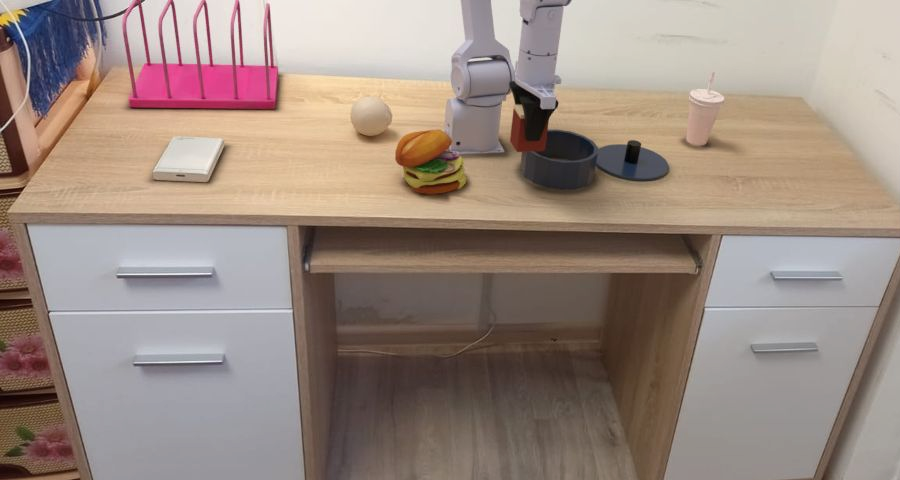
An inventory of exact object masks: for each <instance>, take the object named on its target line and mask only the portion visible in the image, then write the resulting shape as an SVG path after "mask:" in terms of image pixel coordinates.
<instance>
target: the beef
mask: <svg viewBox="0 0 900 480" xmlns="http://www.w3.org/2000/svg"><path fill="white" fill-rule="evenodd" d="M512 110H513V111H512V119H511V120H512V121H511V130H510V137H509V138H510V139H509V142H510V144H511V145H512V147H513V148H514V150H515V151H516V153H522V152H530V151H545V146H546V138H547V131H548V130H549V124H550V123H549V121H550V119H549V120H548V121H547V124H546V126H545V128H544V131H543V134H542V136H541V138H540V140H539V141H527V140H526V136H525V117H524V110H523V106H522V104H520V105H515V104H513V108H512Z"/></svg>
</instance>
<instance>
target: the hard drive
mask: <svg viewBox="0 0 900 480" xmlns="http://www.w3.org/2000/svg"><path fill="white" fill-rule="evenodd" d="M224 148H225V140H224V139H223V138H220V137H202V136H180V135H179V136H178V135H176V136H175V135H174V136H173V137H172V138H171V140H170V142H169V144H168V146H167V147H166V148H165V150H164V152H163V153H162V155H161V156H160V159H159V160H158V162H157V163H156V165H155V167H154V169H153V171H152V178H153V180H156V181H171V182H172V181H173V182H194V183H207V182H209V180H210V178H211V176H212V174H213V172H214V170H215V167H216V165H217V163H218V161H219V158H220V156H221V154H222V153H223V149H224Z"/></svg>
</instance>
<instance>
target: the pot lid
mask: <svg viewBox="0 0 900 480" xmlns="http://www.w3.org/2000/svg"><path fill="white" fill-rule="evenodd" d="M595 167H597V168H598V169H599V170H600V171H602V172H604V173H605V174H608V175H610V176H613V177H616V178H618V179H622V180H628V181H633V182H634V181H635V182H650V181H655V180H659V179H661V178H663V177H665V176H666V175H667V174H668V171H669V163H668V161H667V160H666V158H665V157H663V156H662V155H661V154H659V153H657V152H656V151H653V150H651V149H648V148H647V147H642V143H641V142H640V141H638V140H635V139H631V140H627V144H623V143H621V144H619V143H617V144H614V143H613V144H607V145H604V146H600V147H598V155H597V161H596V166H595Z"/></svg>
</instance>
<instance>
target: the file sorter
mask: <svg viewBox="0 0 900 480" xmlns="http://www.w3.org/2000/svg"><path fill="white" fill-rule="evenodd" d="M136 5H137V6H138V11H139V16H140V17H139V18H140V24H141V31H142V38H143V44H144V51H145V57H146V62H145V63H143V65H142V67H141V69H140V72H139V74H138V77H137V78H136V79H135V73H134V68H133V62H132V55H131V50H130V43H129V37H128V31H127V21H128V17H129V16H130V14H131V12H132V11H133V10H134V7H135V6H136ZM270 5H271V4H270V3H268V2H267V3H265V10H264V17H263V26H262V27H263V28H262V29H263V49H264V50H263V52H264V53H263V54H264V65H259V64H257V65H255V64H254V65H253V64H245V63H244V49H243V48H244V47H243V32H242V29H243V28H242V17H241V16H242V15H241V13H242V12H241V4H240V0H235V2H234V5H233V10H232V13H231V18H230V46H231V47H230V48H231V60H232V64H216V63H214V59H213V49H212V39H211V28H210V17H209V11H208V10H209V9H208V3H207V1H206V0H200V2H199V5H198V6H197V8H196V11H195V13H194V14H193V18H192V19H193V20H192V30H193V31H192V32H193V41H194V50H195V57H196V58H195V59H196V63H183V61H182V53H181V45H180V36H179V28H178V21H177V12H176V6H175V1H174V0H167V1H166V3H165V5H164V7H163V9H162V11H161V12H160V15H159V17H158V24H157V25H158V26H157V27H158V38H159V39H158V40H159V47H160V53H161V59H162V63H161V62H159V63H157V62H151V56H150V51H149V50H150V49H149V42H148V36H147V30H146V24H145V16H144V11H143V5H142V1H141V0H132V1H131V3H130V5H129V6H128V8H127V9H126V11H125V12H124V13H123V16H122V22H121V23H122V28H121V29H122V37H123V41H124V48H125V54H126V60H127V65H128V72H129V77H130V83H131V93H130V95H129V97H128V103H129V107H130V108H152V109H153V108H158V109H159V108H161V109H166V108H167V109H233V110H234V109H236V110H237V109H239V110H240V109H245V110H246V109H247V110H248V109H249V110H275V109H276V105H277V104H276V102H277V93H278V81H279V66H277V65H274V51H273V50H274V49H273V34H272V33H273V32H272V31H273V30H272V19H271V18H272V17H271V16H272V15H271V6H270ZM170 6H171V13H172V20H173V28H174V35H175V45H176V51H177V60H178V63H169V62H168V63H167V57H166V51H165V50H166V49H165V44H164V43H165V42H164V36H163V35H164V34H163V20H164V18H165V16H166V14H167V12H168V10H169V8H170ZM202 9H203V10H204V18H205V27H206V28H205V30H206V38H207V49H208V59H209V63H201V54H200V48H199V47H200V45H199V39H198V38H199V37H198V29H197V26H198V25H197V21H198V17H199V15H200V13H201V11H202ZM236 15H237V27H238V40H239V41H238V44H239V62H240V64H237V63H236V61H237V60H236V49H235V47H236V45H235V20H236ZM268 44H269V45H268ZM268 46H269V48H268ZM268 49H269V51H268ZM269 60H270V61H269ZM269 62H270V65H269Z"/></svg>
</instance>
